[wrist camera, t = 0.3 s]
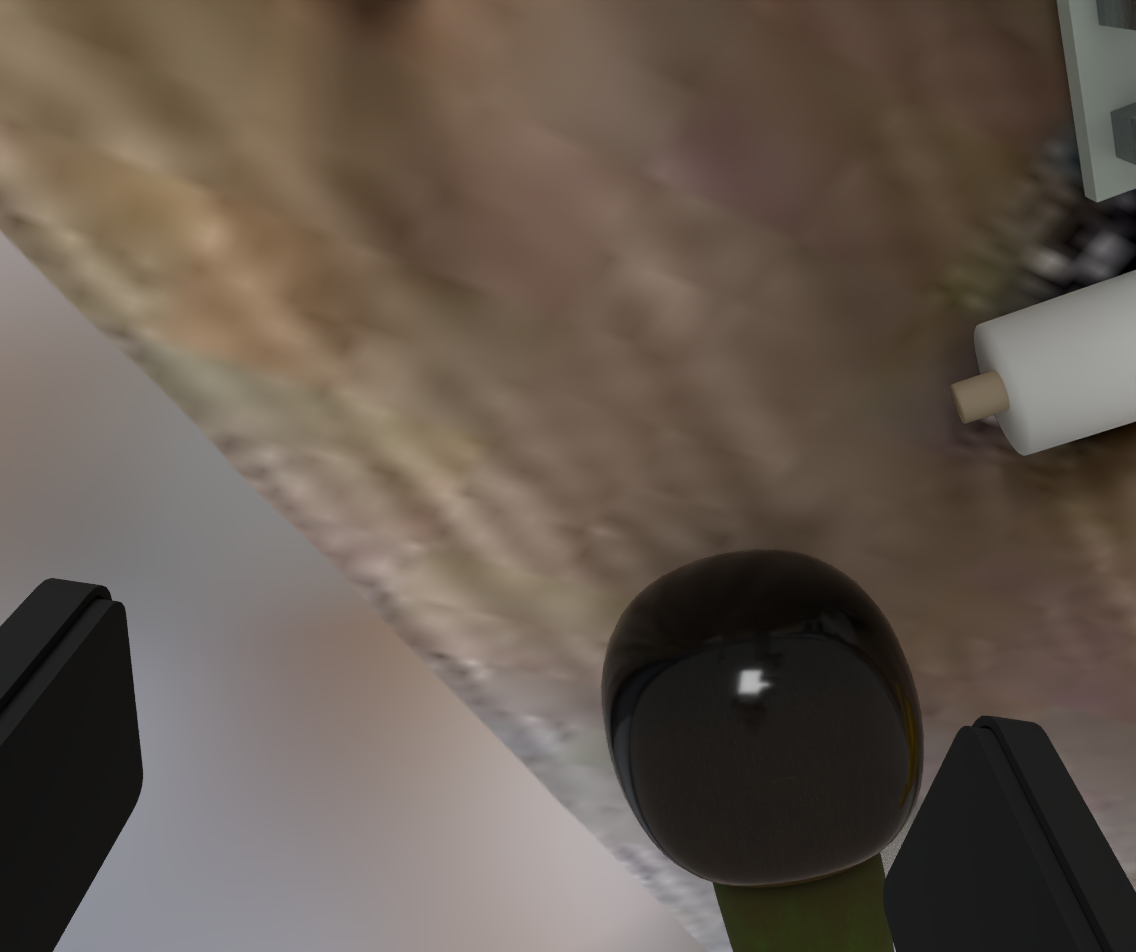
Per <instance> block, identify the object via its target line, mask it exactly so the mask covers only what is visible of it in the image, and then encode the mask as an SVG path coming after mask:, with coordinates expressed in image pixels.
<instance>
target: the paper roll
mask: <svg viewBox="0 0 1136 952" xmlns="http://www.w3.org/2000/svg"><path fill="white" fill-rule="evenodd" d="M974 348H975V353H976V358H977V363H978V367H979V372H980V375H978V376H975V377H972V378H969V379H966V380H963V381H960V382H957V383H954V384H951V385H950V391H951V396H952V399H953V403H954V406H955V408H956V411H957V413H958V415H959V417H960V419H961V421H962V422H963V423H964V424H966V423H969V422H972V421H975V420H978V419H981V418H984V417H988V416H991V415H995V417H996V419H997V421H998V423H999V425H1000V427H1001V429H1002V431H1003V433H1004V435H1005V436H1006V438H1007V439H1008V441H1009V443H1010V444H1011V445H1012V447H1013V448H1014V449H1015V450H1016V451H1017V452H1018V453H1019V454H1021V455H1023V456H1026V455H1029V454H1032V453H1036V452H1039V451H1042V450H1045V449H1048V448H1052V447H1055V446H1058V445H1061V444H1065V443H1068V442H1071V441H1074V440H1077V439H1081V438H1084V437H1087V436H1090V435H1094V434H1097V433H1100V432H1103V431H1106V430H1110V429H1113V428H1116V427H1119V426H1123V425H1126V424H1129V423H1132V422H1135V421H1136V270H1134V271H1131V272H1128V273H1125V274H1122V275H1119V276H1117V277H1114V278H1111V279H1108V280H1105V281H1102V282H1099V283H1096V284H1093V285H1091V286H1088V287H1085V288H1082V289H1079V290H1076V291H1073V292H1070V293H1067V294H1065V295H1062V296H1059V297H1056V298H1053V299H1050V300H1047V301H1044V302H1041V303H1039V304H1036V305H1033V306H1030V307H1027V308H1024V309H1021V310H1018V311H1015V312H1013V313H1010V314H1007V315H1004V316H1001V317H998V318H995V319H992V320H989V321H987V322H984V323H981V324H978V325H977V326H976V328H975V331H974Z"/></svg>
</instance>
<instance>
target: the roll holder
mask: <svg viewBox="0 0 1136 952" xmlns="http://www.w3.org/2000/svg"><path fill="white" fill-rule="evenodd" d="M1056 1H1057V8H1058V15H1059V22H1060V29H1061V35H1062V42H1063V49H1064V56H1065V63H1066V70H1067V76H1068V83H1069V90H1070V97H1071V104H1072V110H1073V117H1074V124H1075V131H1076V138H1077V145H1078V151H1079V158H1080V165H1081V172H1082V179H1083V186H1084V192H1085V197H1087V198H1089V199H1091V200H1093V201H1095V202H1100V201H1103V200H1106V199H1108V198H1111V197H1114V196H1116V195H1119V194H1122V193H1125V192H1127V191H1130V190H1133V189H1136V0H1056Z"/></svg>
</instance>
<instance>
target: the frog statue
mask: <svg viewBox="0 0 1136 952" xmlns="http://www.w3.org/2000/svg"><path fill="white" fill-rule="evenodd" d="M601 691H602V710H603V718H604V725H605V731H606V738H607V743H608V747H609V752H610V756H611V760H612V763H613V766H614V770H615V773H616V776H617V779H618V781H619V784H620V786H621V789H622V791H623V794H624V796H625V798H626V800H627V802H628V804H629V806H630V808H631V810H632V811H633V813H634V815H635V817H636V818H637V820H638V822H639V823H640V825H641V826H642V828H643V829H644V831H645V832H646V833H647V835H648V836H649V838H650V839H651V840H652V842H653V843H654V844H655V845H656V846H657V847H658V848H659V849H660V850H661V851H662V852H663V854H664V855H666V856H667V857H668V858H669V859H671V860H672V861H673V862H674V863H676V864H677V865H678V866H680V867H681V868H683V869H685V870H687V871H688V872H690V873H692V874H694V875H696V876H698V877H700V878H702V879H705V880H708V881H711V882H713V885H714V889H715V893H716V897H717V900H718V904H719V907H720V910H721V913H722V917H723V920H724V923H725V927H726V930H727V934H728V937H729V940H730V944H731V947H732V949H733V952H894V947H893V939H892V936H891V932H890V929H889V925H888V922H887V918H886V915H885V910H884V904H883V888H884V883H885V873H884V868H883V863H882V859H881V855H880V852H881V851H882V850H883V849H884V848H885V847H886V846H888V845H889V844H890V843H891V842H892V841H893V840H894V839H895V838H896V836H897V835H898V834H899V832H900V831H901V830H902V828H903V827H904V825H905V824H906V823H907V821H908V819H909V817H910V815H911V813H912V811H913V809H914V807H915V805H916V801H917V798H918V794H919V791H920V787H921V780H922V773H923V759H924V734H923V725H922V716H921V710H920V705H919V700H918V695H917V691H916V688H915V684H914V681H913V677H912V674H911V671H910V669H909V666H908V663H907V661H906V658H905V656H904V653H903V651H902V648H901V646H900V643H899V641H898V639H897V637H896V635H895V633H894V631H893V629H892V627H891V625H890V623H889V621H888V620H887V619H886V617H885V616H884V614H883V613H882V611H881V610H880V608H879V607H878V606H877V605H876V603H875V602H874V601H873V600H872V599H871V597H870V596H869V595H868V594H867V593H866V592H865V591H864V590H863V589H862V588H861V587H860V586H859V584H858V583H856V582H855V581H854V580H852V579H851V578H850V577H848V576H847V575H846V574H844V573H843V572H841V571H840V570H838V569H837V568H835V567H834V566H832V565H830V564H828V563H826V562H823V561H821V560H819V559H816V558H814V557H811V556H808V555H804V554H800V553H796V552H791V551H782V550H747V551H736V552H731V553H725V554H720V555H715V556H712V557H708V558H705V559H701V560H698V561H695V562H692V563H690V564H687V565H685V566H683V567H680V568H678V569H676V570H674V571H672V572H670V573H668V574H666V575H664V576H662V577H661V578H659V579H658V580H656V581H654V582H653V583H651V584H650V585H649V586H647V587H646V588H645V589H644V590H643V591H642V592H640V593H639V594H638V595H637V596H636V597H635V599H634V600H633V601H632V602H631V603H630V604H629V606H628V607H627V608H626V610H625V611H624V612H623V613H622V615H621V617H620V619H619V621H618V623H617V625H616V627H615V629H614V631H613V633H612V635H611V637H610V640H609V643H608V647H607V651H606V654H605V661H604V667H603V675H602V685H601Z"/></svg>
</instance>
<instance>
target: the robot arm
mask: <svg viewBox="0 0 1136 952" xmlns="http://www.w3.org/2000/svg"><path fill="white" fill-rule="evenodd" d="M142 782H143V767H142V758H141V749H140V739H139V730H138V721H137V711H136V702H135V693H134V683H133V674H132V665H131V656H130V646H129V637H128V628H127V619H126V611H125V607H124V605H123V604H122V603H121V602H118V601H112V599H111V594H110V592H109V590H108V589H107V587H104V586H102V585H95V584H89V583H82V582H75V581H68V580H62V579H55V578H50V579H47V580H45V581H44V582H42V583H41V584H40V585H39V586H38V587H37V588H36V589H35V590H34V591H33V592H32V593H31V594H30V595H29V596H28V597H27V598H26V599H25V600H24V602H23V603H22V604H21V605H20V606H19V607H18V608H17V609H16V610H15V611H14V612H13V613H12V615H11V616H10V617H9V618H8V619H7V620H6V621H5V622H4V623H3V624H2V625H1V626H0V952H53V950H54V948H55V947H56V945H57V943H58V941H59V940H60V938H61V936H62V934H63V933H64V931H65V929H66V927H67V925H68V924H69V922H70V920H71V918H72V916H73V915H74V913H75V911H76V910H77V908H78V906H79V904H80V903H81V901H82V899H83V897H84V896H85V894H86V892H87V890H88V889H89V887H90V885H91V883H92V882H93V880H94V878H95V876H96V875H97V873H98V871H99V869H100V867H101V866H102V864H103V862H104V860H105V859H106V857H107V855H108V853H109V852H110V850H111V848H112V846H113V845H114V843H115V841H116V839H117V837H118V836H119V834H120V832H121V831H122V829H123V827H124V825H125V824H126V822H127V820H128V818H129V816H130V815H131V813H132V811H133V809H134V807H135V805H136V803H137V801H138V798H139V795H140V792H141V788H142ZM883 904H884V910H885V915H886V918H887V922H888V925H889V929H890V932H891V936H892V939H893V943H894V946H895V949H896V952H1136V892H1135V890H1134V888H1133V886H1132V885H1131V883H1130V881H1129V879H1128V878H1127V876H1126V874H1125V872H1124V870H1123V869H1122V867H1121V865H1120V863H1119V862H1118V860H1117V858H1116V856H1115V854H1114V853H1113V851H1112V849H1111V847H1110V846H1109V844H1108V842H1107V840H1106V839H1105V837H1104V835H1103V833H1102V831H1101V830H1100V828H1099V826H1098V824H1097V823H1096V821H1095V819H1094V817H1093V815H1092V814H1091V812H1090V810H1089V808H1088V807H1087V805H1086V803H1085V801H1084V800H1083V798H1082V796H1081V794H1080V792H1079V791H1078V789H1077V787H1076V785H1075V784H1074V782H1073V780H1072V778H1071V776H1070V775H1069V773H1068V771H1067V769H1066V768H1065V766H1064V764H1063V762H1062V761H1061V759H1060V757H1059V755H1058V753H1057V752H1056V750H1055V748H1054V746H1053V745H1052V743H1051V741H1050V739H1049V737H1048V736H1047V734H1046V733H1045V731H1044V730H1043V729H1042V727H1041V726H1039V725H1038V724H1036V723H1034V722H1027V721H1020V720H1014V719H1007V718H1000V717H993V716H981V717H980V718H978V719H977V720H976V721H975V723H974V724H973V725H972V727H971V726H964V727H962V728H961V729H960V730H959V732H958V733H957V735H956V737H955V739H954V741H953V743H952V745H951V747H950V749H949V751H948V753H947V755H946V757H945V759H944V761H943V763H942V765H941V767H940V769H939V771H938V773H937V775H936V777H935V779H934V781H933V783H932V785H931V787H930V789H929V791H928V793H927V795H926V797H925V799H924V801H923V803H922V805H921V807H920V810H919V812H918V814H917V816H916V818H915V820H914V822H913V824H912V826H911V828H910V830H909V832H908V834H907V836H906V838H905V840H904V842H903V844H902V846H901V848H900V850H899V852H898V854H897V856H896V858H895V860H894V862H893V864H892V866H891V868H890V870H889V872H888V874H887V877H886V879H885V883H884V888H883Z"/></svg>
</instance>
